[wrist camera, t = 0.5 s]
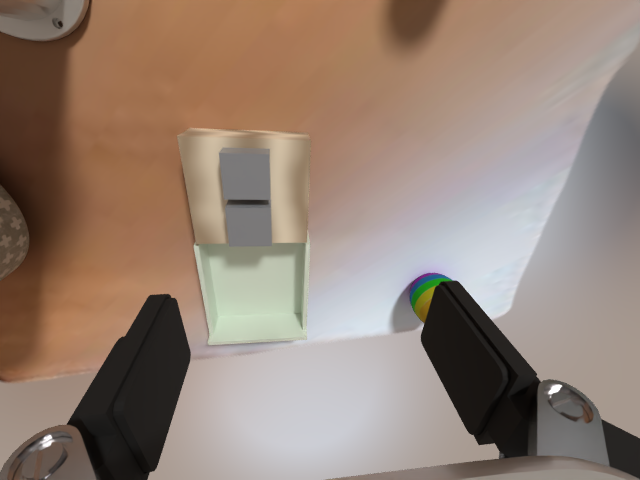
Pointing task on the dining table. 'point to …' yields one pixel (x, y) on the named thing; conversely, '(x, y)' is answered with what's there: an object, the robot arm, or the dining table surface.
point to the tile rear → (249, 223)
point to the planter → (11, 235)
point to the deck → (286, 180)
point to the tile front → (245, 173)
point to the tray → (254, 291)
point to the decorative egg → (424, 293)
